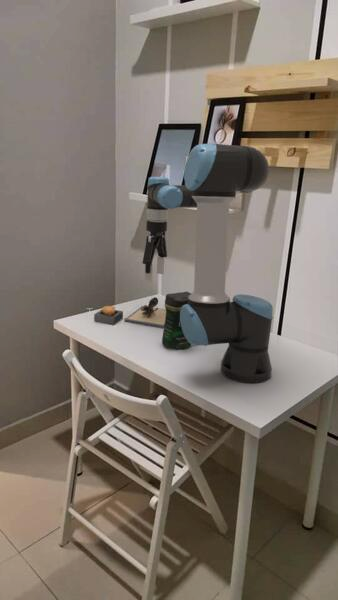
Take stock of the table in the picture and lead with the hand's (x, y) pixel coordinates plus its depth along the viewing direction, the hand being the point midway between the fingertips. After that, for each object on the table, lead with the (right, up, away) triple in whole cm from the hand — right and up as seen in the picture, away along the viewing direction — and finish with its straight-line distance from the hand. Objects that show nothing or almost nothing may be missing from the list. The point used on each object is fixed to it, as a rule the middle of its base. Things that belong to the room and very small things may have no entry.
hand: (154, 277), depth 179 cm
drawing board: (-1, -16, +5) cm, 16 cm away
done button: (-17, -14, -1) cm, 22 cm away
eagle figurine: (-2, -15, +5) cm, 15 cm away
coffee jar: (+8, -24, -20) cm, 32 cm away
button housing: (-17, -16, 0) cm, 24 cm away
